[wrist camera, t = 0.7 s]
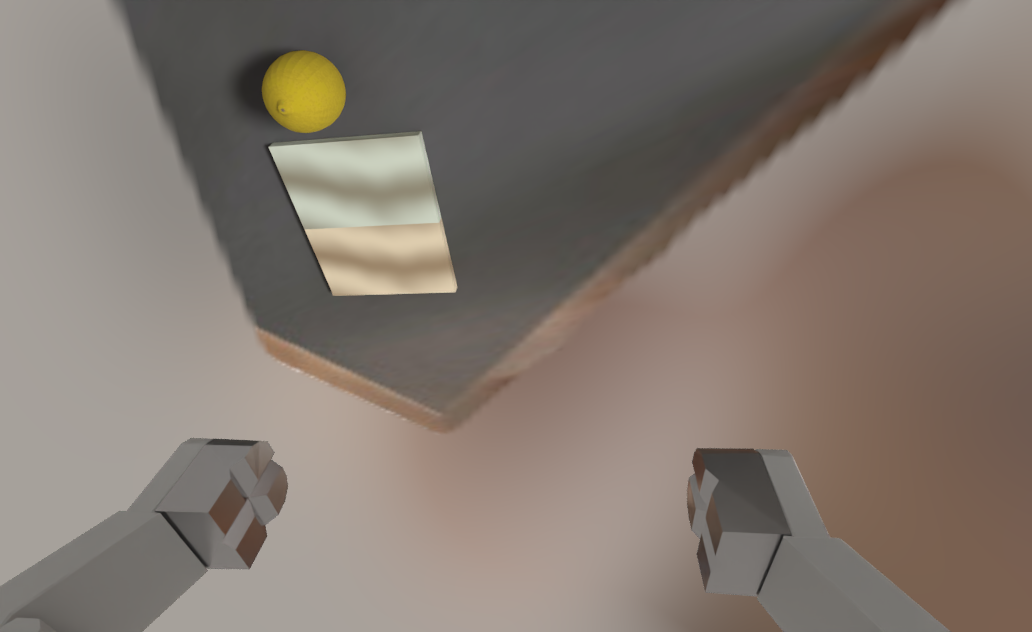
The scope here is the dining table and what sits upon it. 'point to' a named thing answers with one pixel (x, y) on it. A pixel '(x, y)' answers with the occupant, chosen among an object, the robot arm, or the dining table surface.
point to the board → (369, 212)
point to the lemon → (303, 91)
